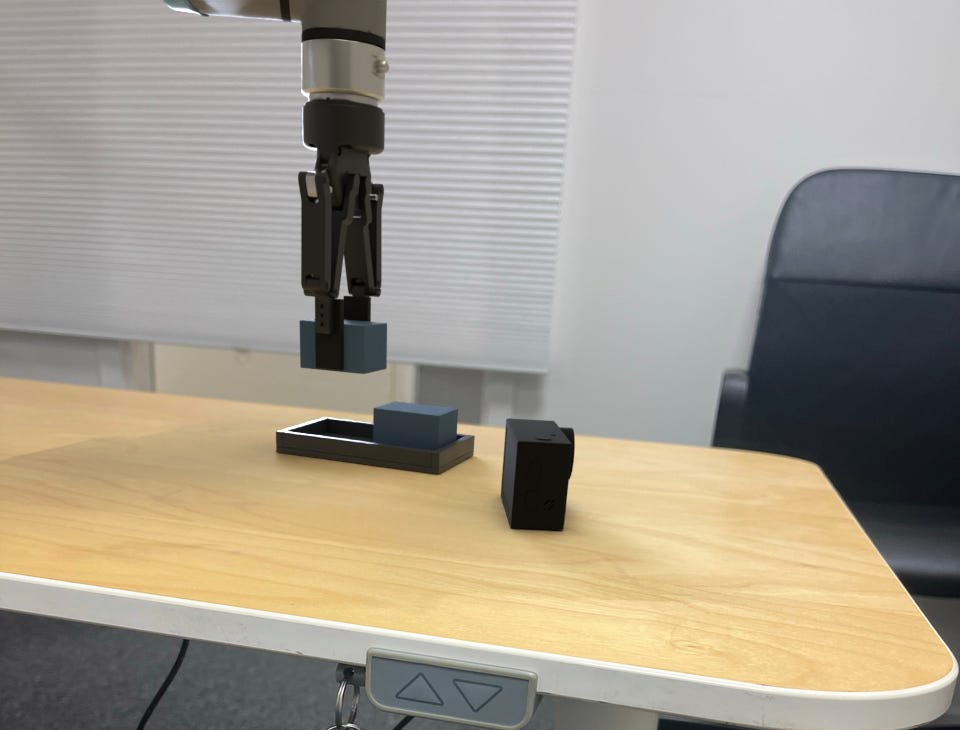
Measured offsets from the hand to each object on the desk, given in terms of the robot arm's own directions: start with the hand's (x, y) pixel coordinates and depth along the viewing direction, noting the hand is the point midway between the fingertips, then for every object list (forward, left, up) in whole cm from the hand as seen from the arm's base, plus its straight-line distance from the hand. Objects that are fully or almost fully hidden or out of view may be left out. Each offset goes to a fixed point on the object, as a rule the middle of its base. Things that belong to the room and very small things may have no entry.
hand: (343, 365), depth 93 cm
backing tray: (+4, 0, -9) cm, 9 cm away
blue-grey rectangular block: (0, 0, 0) cm, 0 cm away
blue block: (+8, 0, -8) cm, 11 cm away
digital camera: (+25, -14, -9) cm, 30 cm away
